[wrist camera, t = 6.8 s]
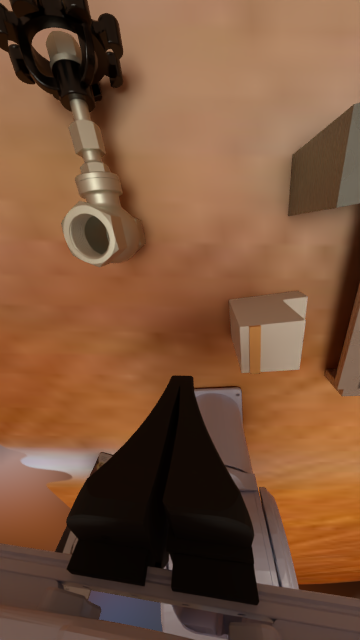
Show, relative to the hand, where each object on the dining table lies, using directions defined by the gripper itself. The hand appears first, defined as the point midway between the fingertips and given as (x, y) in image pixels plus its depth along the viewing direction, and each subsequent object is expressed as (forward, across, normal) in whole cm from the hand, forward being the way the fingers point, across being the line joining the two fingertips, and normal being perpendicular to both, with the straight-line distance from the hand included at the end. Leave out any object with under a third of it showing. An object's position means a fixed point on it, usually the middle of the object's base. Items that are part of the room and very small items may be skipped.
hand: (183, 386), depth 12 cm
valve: (+10, +6, -13) cm, 18 cm away
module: (+9, -8, -1) cm, 12 cm away
